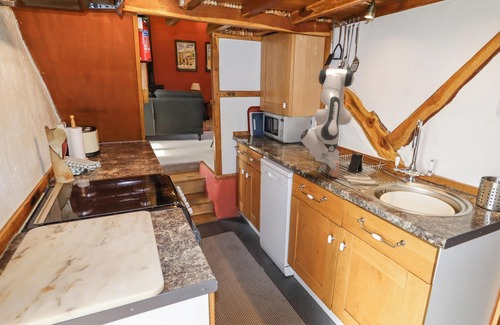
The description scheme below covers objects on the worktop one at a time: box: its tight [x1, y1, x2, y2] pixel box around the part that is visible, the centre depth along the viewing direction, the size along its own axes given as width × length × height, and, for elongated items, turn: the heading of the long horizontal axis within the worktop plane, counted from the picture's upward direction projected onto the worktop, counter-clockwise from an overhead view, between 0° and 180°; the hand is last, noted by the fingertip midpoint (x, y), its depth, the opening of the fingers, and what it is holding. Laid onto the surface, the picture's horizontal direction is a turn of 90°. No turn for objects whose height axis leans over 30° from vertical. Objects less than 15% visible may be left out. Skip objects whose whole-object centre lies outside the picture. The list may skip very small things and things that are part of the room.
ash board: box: [342, 174, 379, 187], centre depth 169 cm, size 15×16×1 cm
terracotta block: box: [329, 161, 341, 178], centre depth 172 cm, size 4×4×9 cm
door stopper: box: [347, 152, 363, 174], centre depth 187 cm, size 9×6×12 cm, turn 128°
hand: (334, 168), depth 172 cm, fingers closed on terracotta block, 4 cm apart
